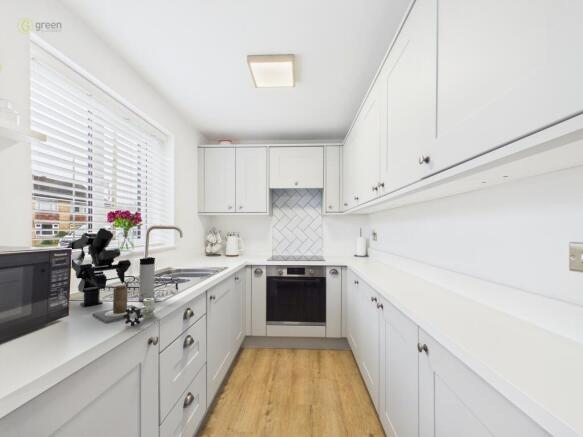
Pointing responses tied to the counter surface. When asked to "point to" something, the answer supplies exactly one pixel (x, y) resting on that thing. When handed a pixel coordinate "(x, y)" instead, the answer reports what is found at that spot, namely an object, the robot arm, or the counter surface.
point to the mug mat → (111, 315)
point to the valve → (140, 312)
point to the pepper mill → (120, 299)
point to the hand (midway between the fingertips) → (111, 284)
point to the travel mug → (146, 278)
